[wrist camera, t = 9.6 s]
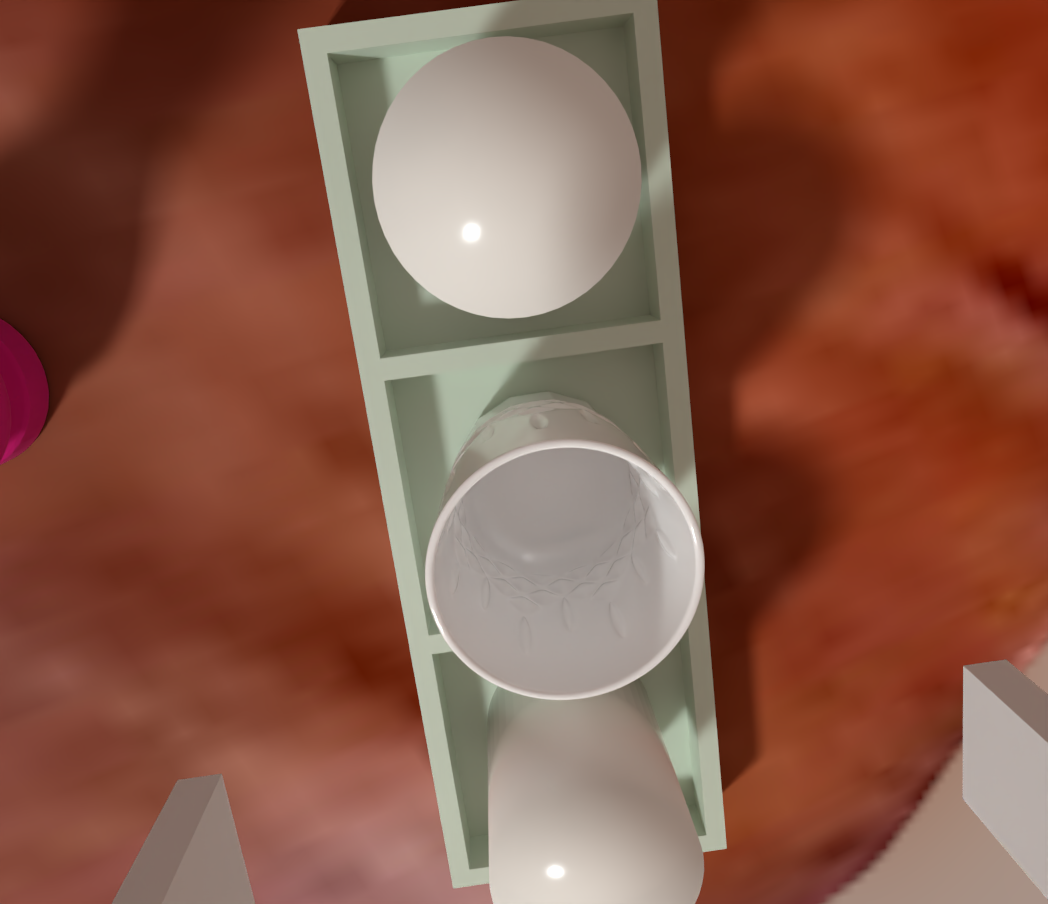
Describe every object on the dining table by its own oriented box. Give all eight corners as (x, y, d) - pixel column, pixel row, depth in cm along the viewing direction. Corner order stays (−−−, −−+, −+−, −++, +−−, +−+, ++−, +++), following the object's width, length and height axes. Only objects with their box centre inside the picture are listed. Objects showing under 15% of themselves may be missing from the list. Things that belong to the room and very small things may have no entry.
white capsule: (475, 658, 36) (474, 798, 27) (643, 634, 36) (694, 766, 27) (499, 803, 38) (504, 977, 29) (658, 779, 38) (711, 946, 29)
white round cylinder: (387, 104, 30) (349, 55, 21) (585, 78, 30) (627, 19, 22) (419, 305, 32) (396, 334, 23) (606, 279, 32) (653, 299, 23)
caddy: (313, 46, 30) (297, 29, 28) (640, 3, 30) (655, -18, 28) (455, 842, 39) (453, 888, 36) (709, 805, 39) (726, 848, 36)
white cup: (628, 360, 33) (690, 417, 23) (652, 551, 35) (718, 677, 25) (423, 393, 33) (400, 465, 23) (460, 583, 35) (452, 721, 25)
